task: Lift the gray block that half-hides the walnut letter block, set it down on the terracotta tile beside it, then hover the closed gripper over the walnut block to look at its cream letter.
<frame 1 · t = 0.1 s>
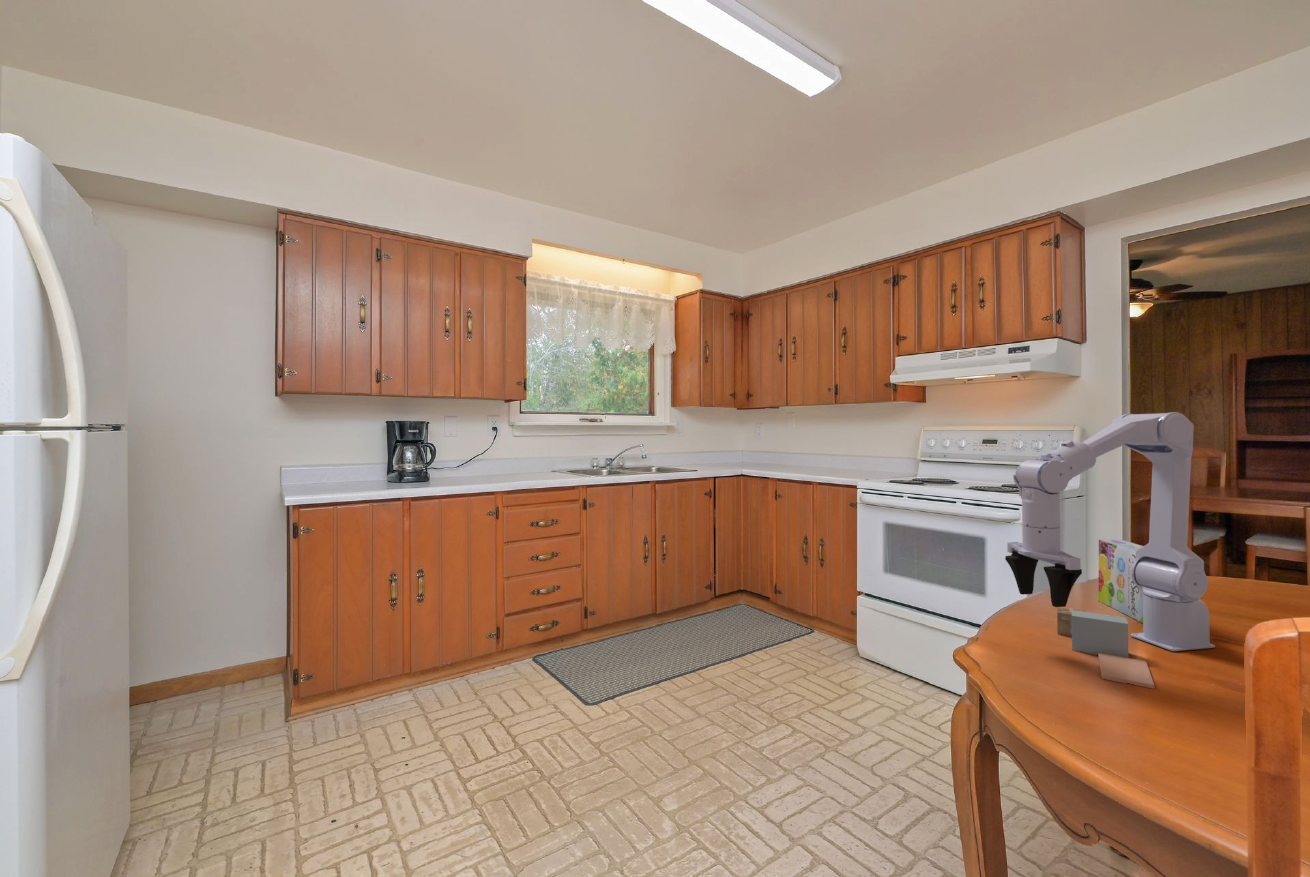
hand: (1041, 599, 102), 10 cm above the table, tool pointing down, fingers open, 7 cm apart
gray block: (1099, 651, 103), on the table
terracotta tile: (1124, 671, 94), on the table
snack box: (1138, 616, 121), on the table
letter block: (1071, 633, 112), on the table
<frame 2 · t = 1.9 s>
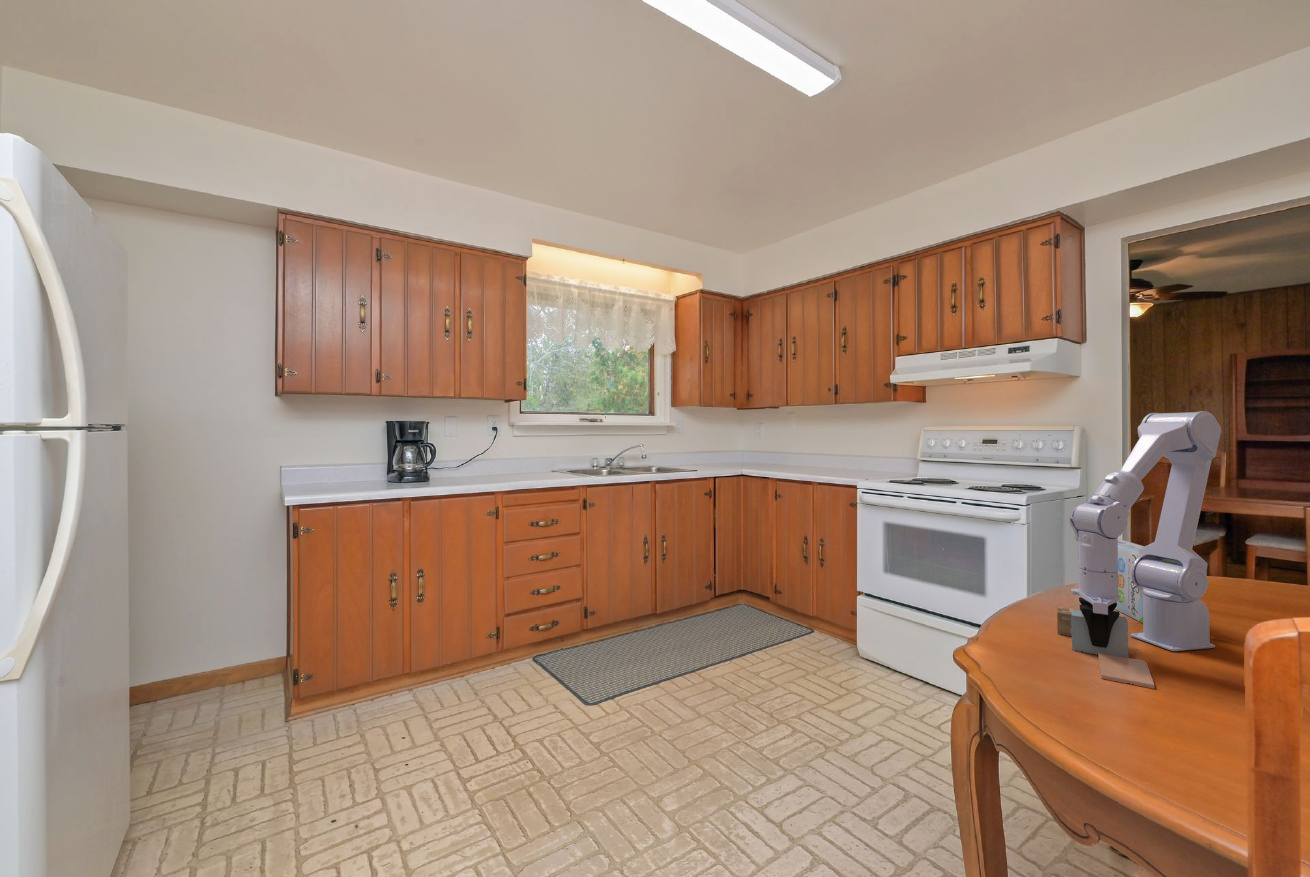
hand: (1098, 642, 103), 2 cm above the table, tool pointing down, fingers closed on gray block, 4 cm apart
gray block: (1099, 651, 103), on the table, touching gripper
everything else where it was.
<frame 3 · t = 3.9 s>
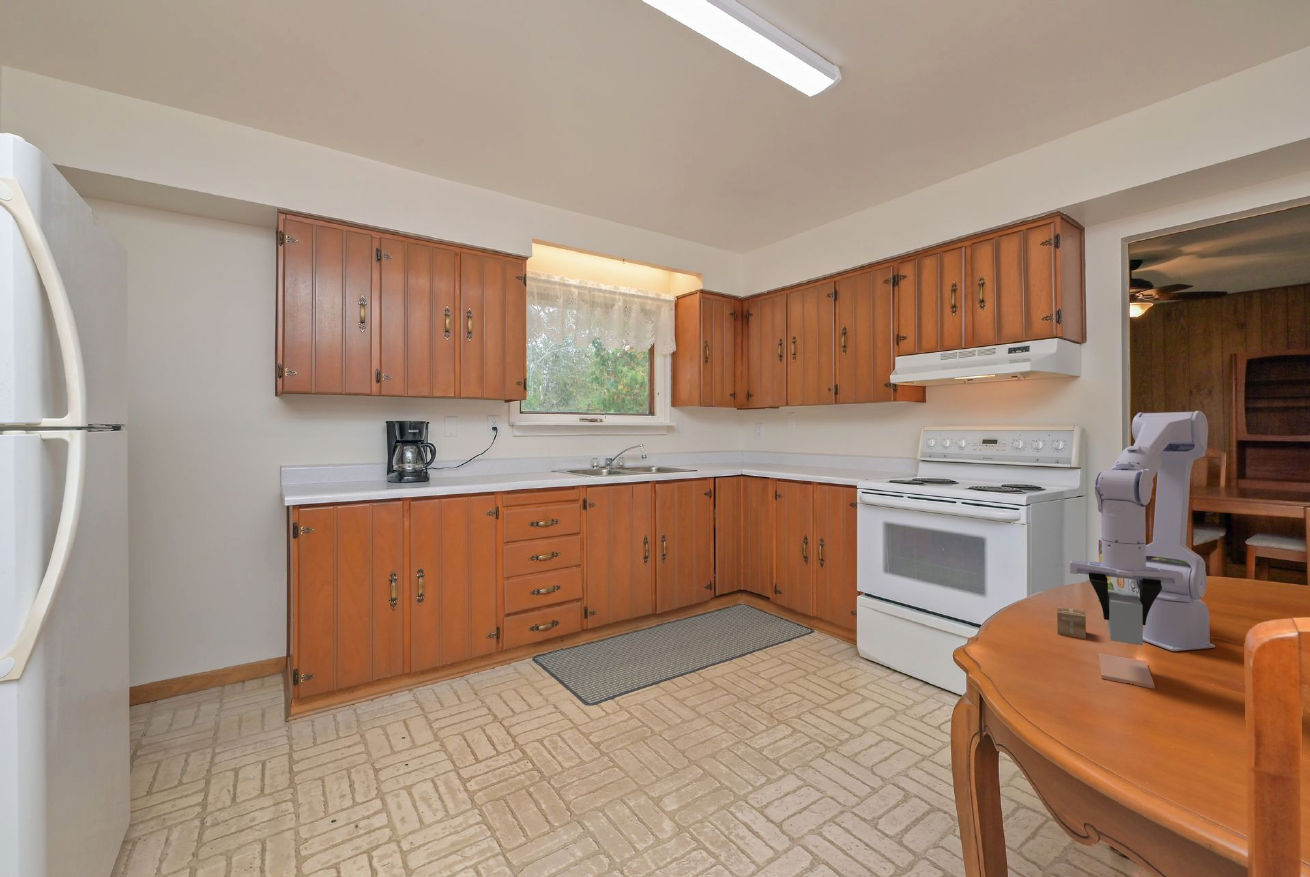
hand: (1123, 620, 94), 9 cm above the table, tool pointing down, fingers closed on gray block, 4 cm apart
gray block: (1124, 635, 94), point 6 cm above the table, touching gripper
everything else where it was.
when the fingers open (4 cm above the table, at t = 5.2 s): gray block stays where it is, resting on terracotta tile.
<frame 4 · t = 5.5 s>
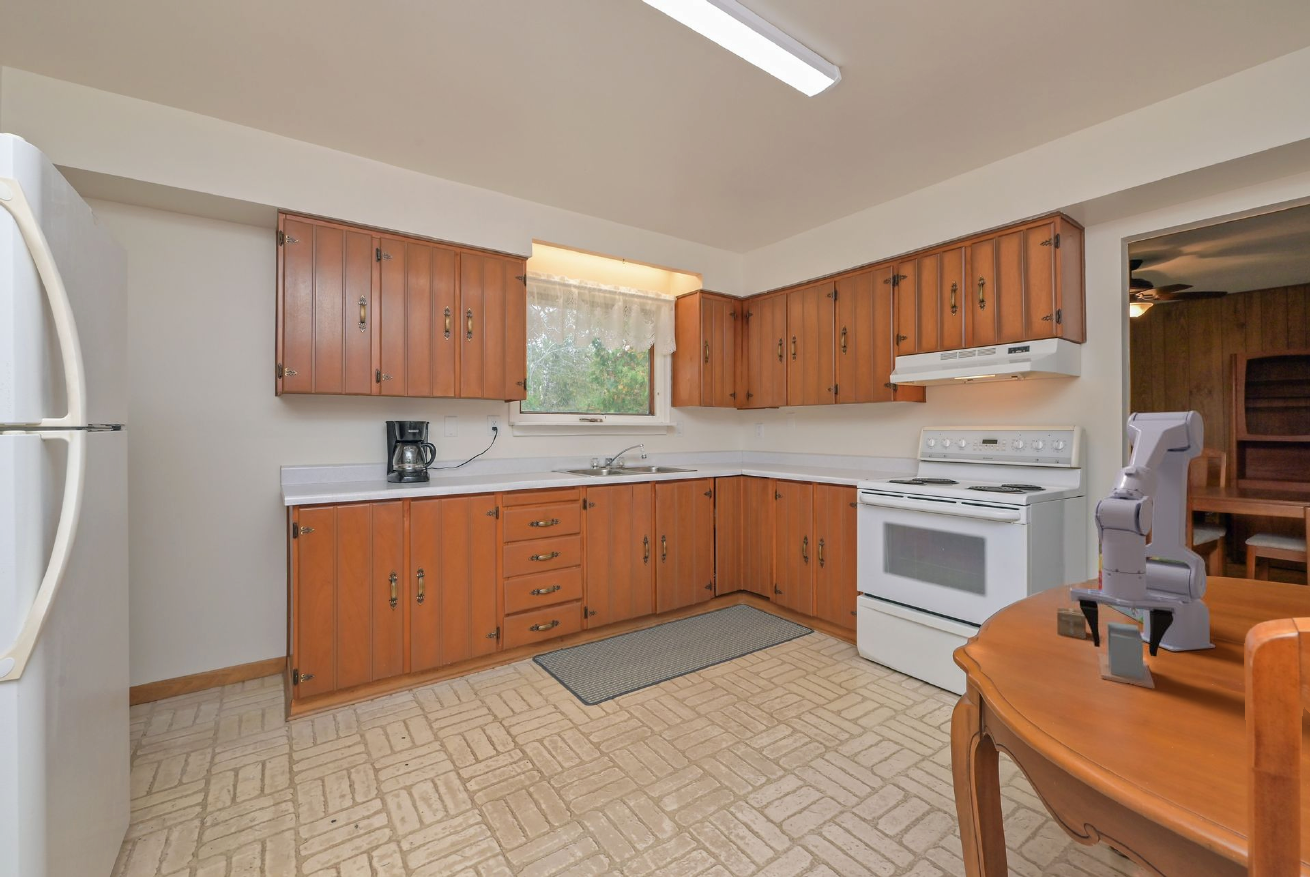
hand: (1124, 649, 94), 4 cm above the table, tool pointing down, fingers open, 7 cm apart
gray block: (1124, 668, 94), point 1 cm above the table, touching terracotta tile
everything else where it was.
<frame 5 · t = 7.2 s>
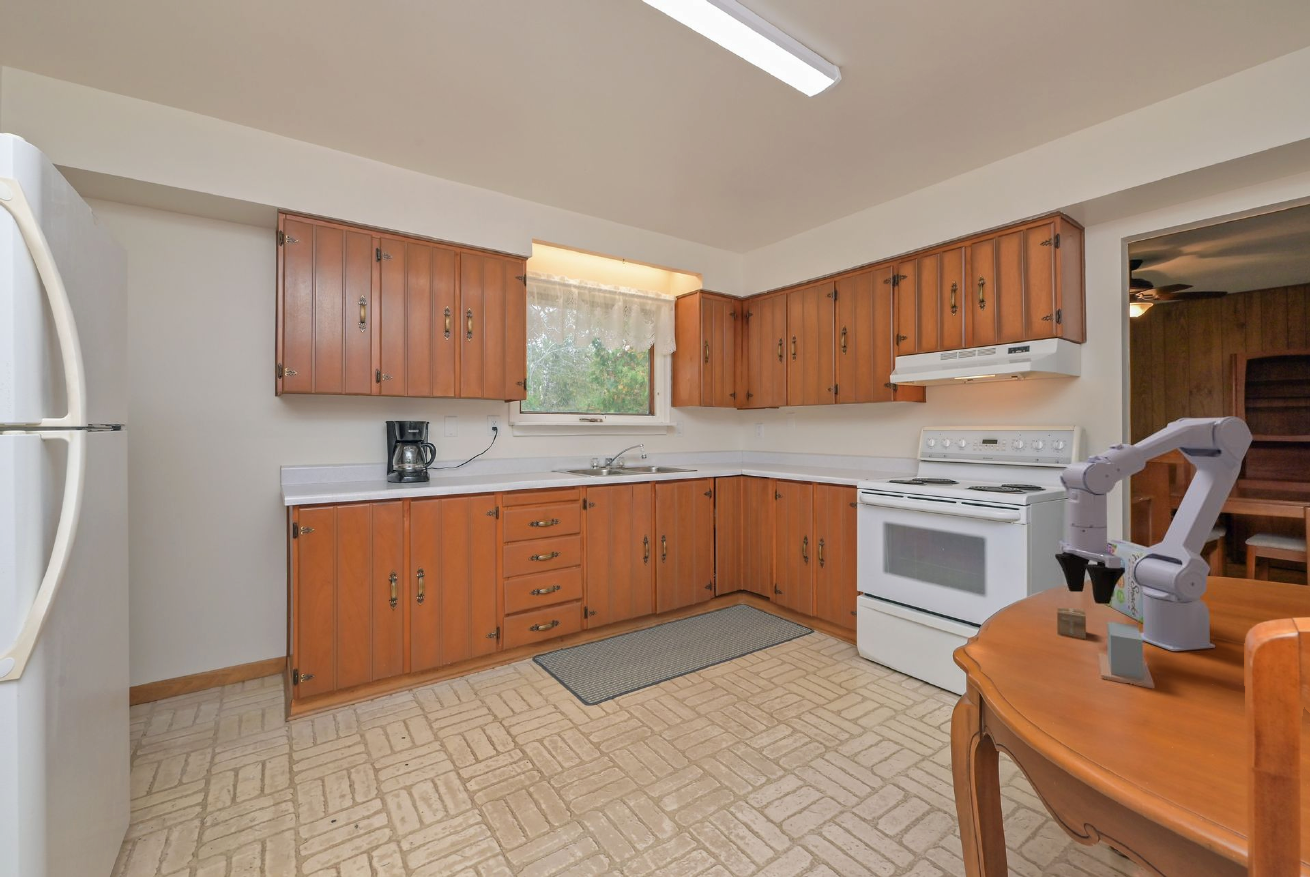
hand: (1088, 597, 105), 9 cm above the table, tool pointing down, fingers open, 7 cm apart
nothing on the table moved.
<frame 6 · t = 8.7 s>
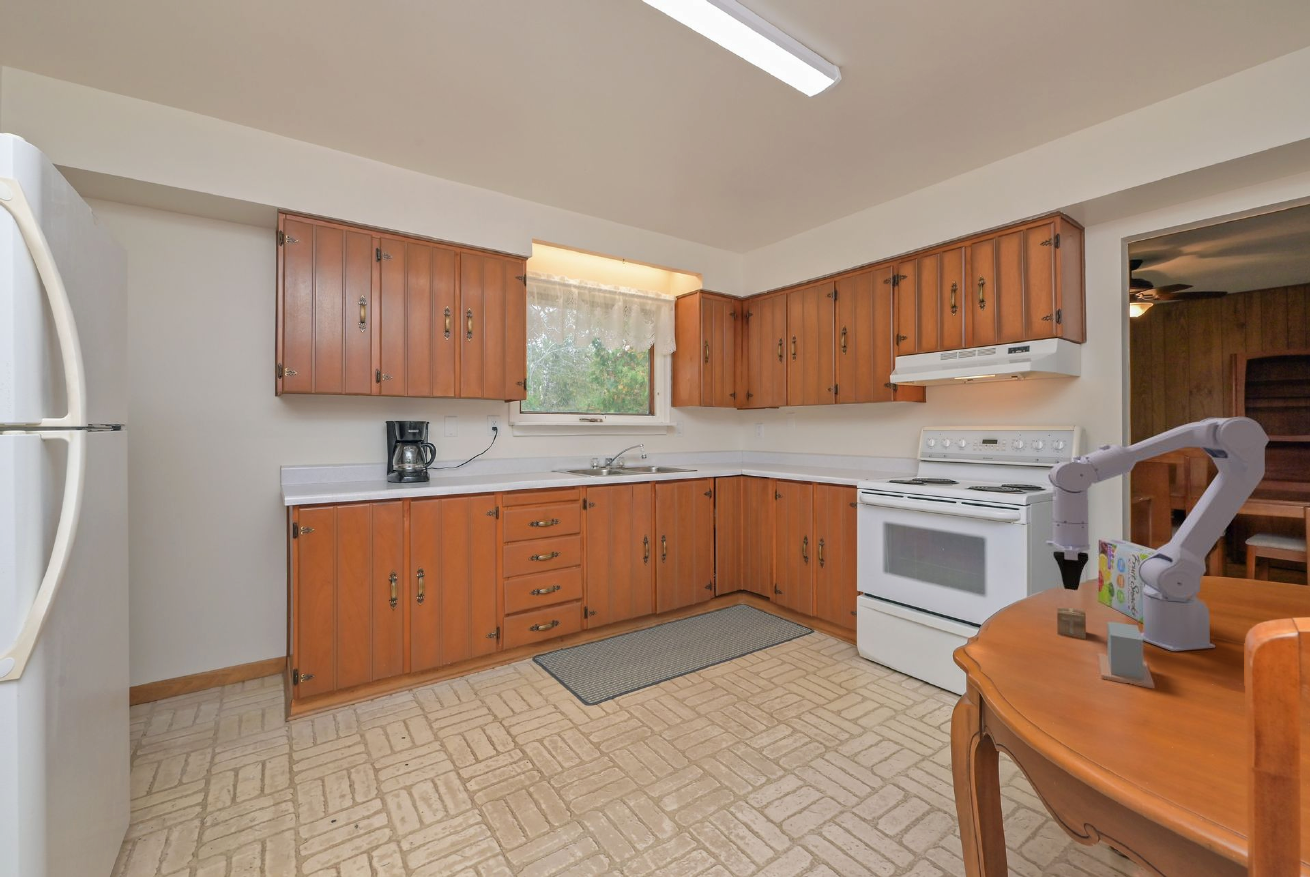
hand: (1070, 588, 112), 9 cm above the table, tool pointing down, fingers closed
nothing on the table moved.
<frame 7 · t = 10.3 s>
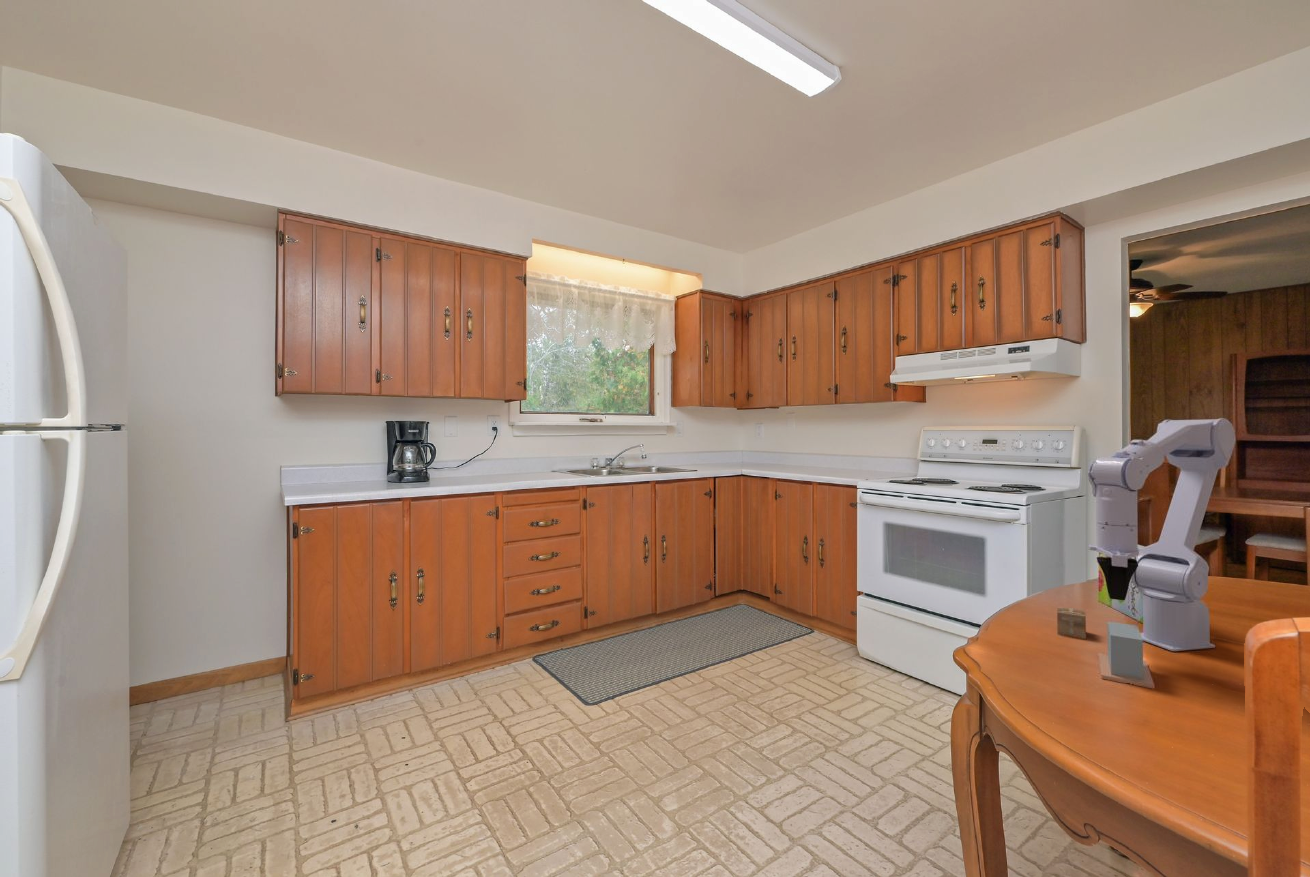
hand: (1117, 598, 100), 10 cm above the table, tool pointing down, fingers closed
nothing on the table moved.
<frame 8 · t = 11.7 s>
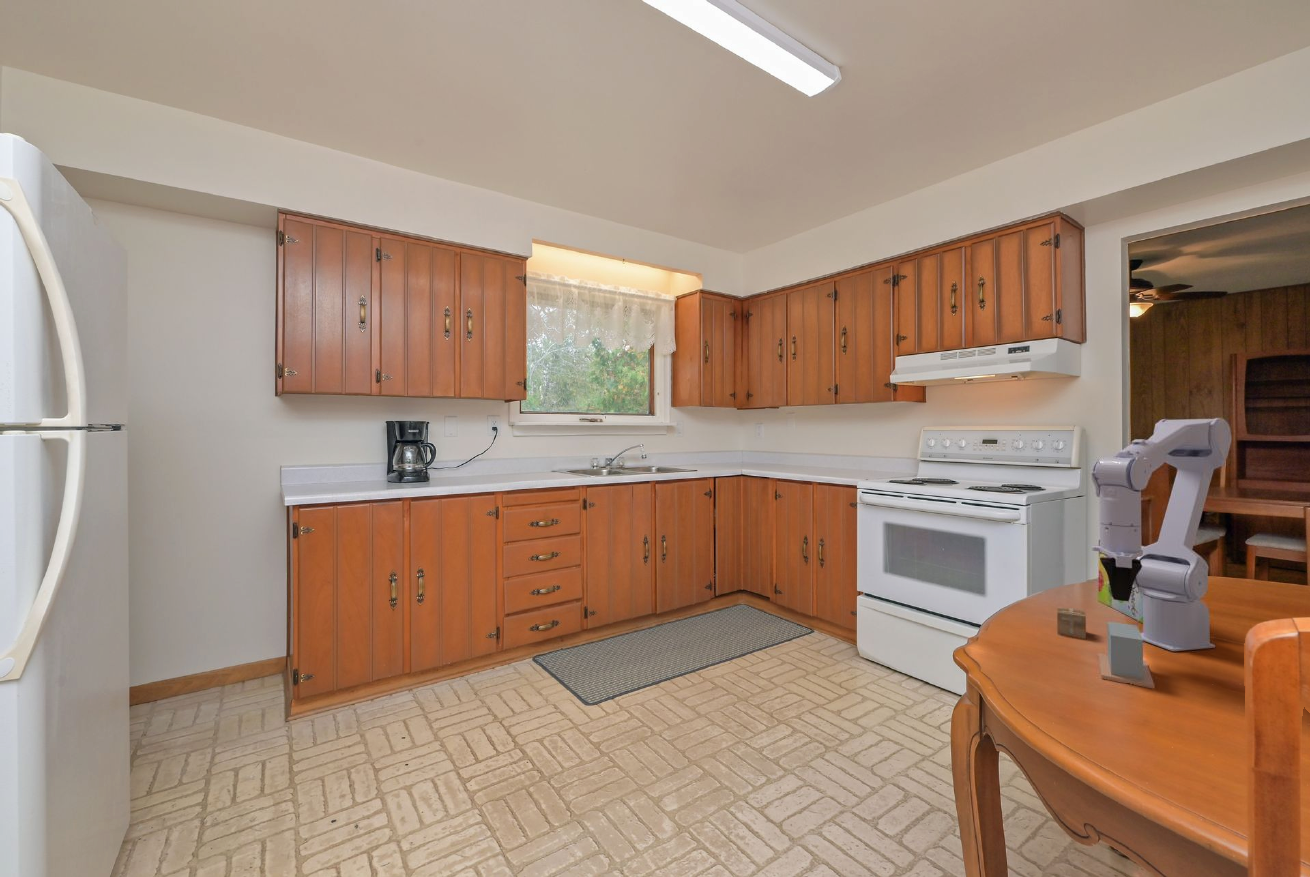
hand: (1120, 599, 100), 10 cm above the table, tool pointing down, fingers closed
nothing on the table moved.
at the end: gray block 0.4 cm off-centre on the terracotta tile, point 0.6 cm above the terracotta tile's base; gray block tilted 0°; letter block moved 0.1 cm from its start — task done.
